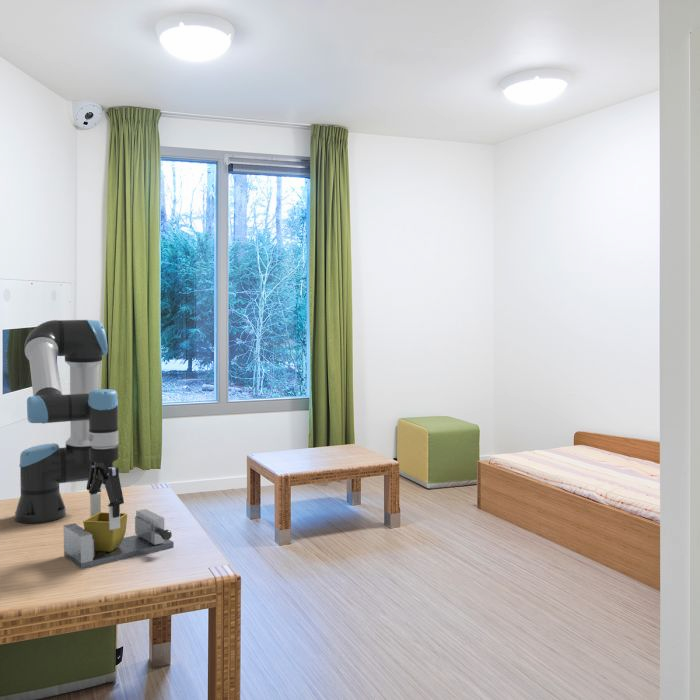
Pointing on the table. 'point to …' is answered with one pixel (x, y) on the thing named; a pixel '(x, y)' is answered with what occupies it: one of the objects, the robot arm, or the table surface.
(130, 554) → the vise base
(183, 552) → the table surface
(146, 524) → the block
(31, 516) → the robot arm
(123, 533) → the flower pot
